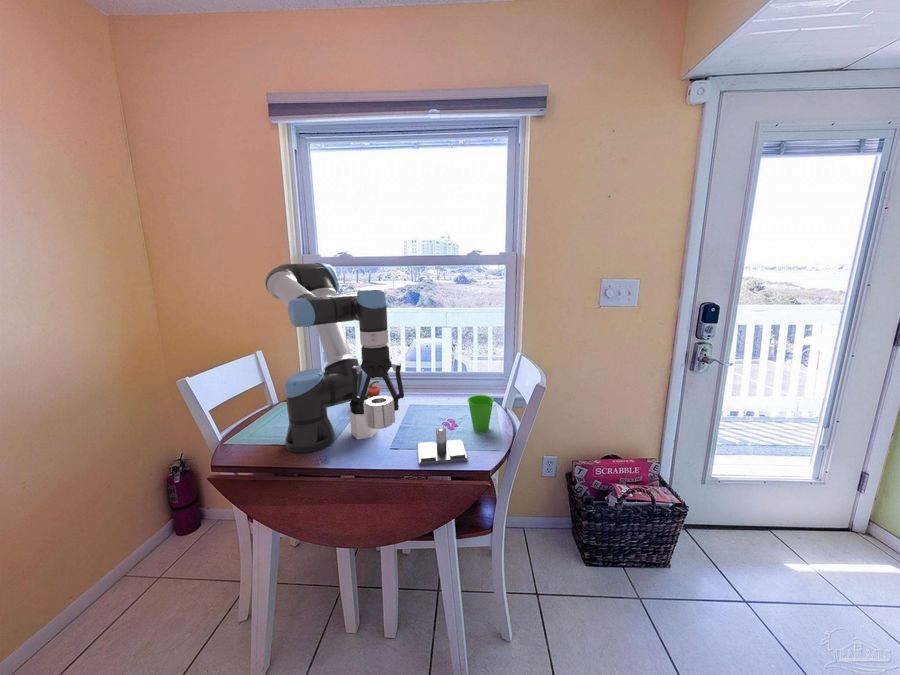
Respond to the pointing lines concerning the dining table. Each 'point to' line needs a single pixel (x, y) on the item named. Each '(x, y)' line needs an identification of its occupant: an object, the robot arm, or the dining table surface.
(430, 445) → the shaft block
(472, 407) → the cup
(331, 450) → the dining table surface
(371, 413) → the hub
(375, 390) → the vegetable
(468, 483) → the dining table surface
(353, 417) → the jar
